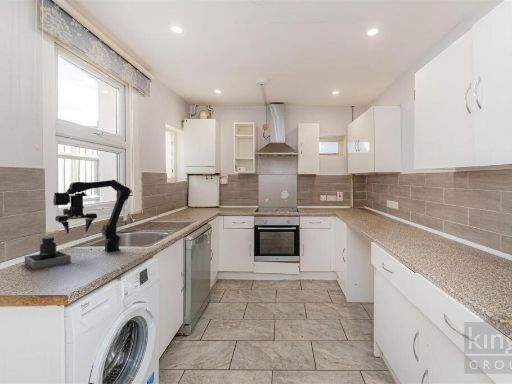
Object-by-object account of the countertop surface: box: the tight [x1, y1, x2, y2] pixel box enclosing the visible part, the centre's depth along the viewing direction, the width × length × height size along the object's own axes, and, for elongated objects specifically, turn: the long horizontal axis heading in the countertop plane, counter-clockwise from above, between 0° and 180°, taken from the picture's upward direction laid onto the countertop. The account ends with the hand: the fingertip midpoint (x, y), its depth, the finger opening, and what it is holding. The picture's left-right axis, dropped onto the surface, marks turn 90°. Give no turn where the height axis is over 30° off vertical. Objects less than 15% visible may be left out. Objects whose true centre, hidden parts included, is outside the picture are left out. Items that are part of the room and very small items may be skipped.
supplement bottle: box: [39, 236, 57, 260], centre depth 139 cm, size 7×7×12 cm
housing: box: [24, 250, 72, 271], centre depth 139 cm, size 15×15×4 cm
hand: (77, 232), depth 153 cm, fingers open, 9 cm apart
